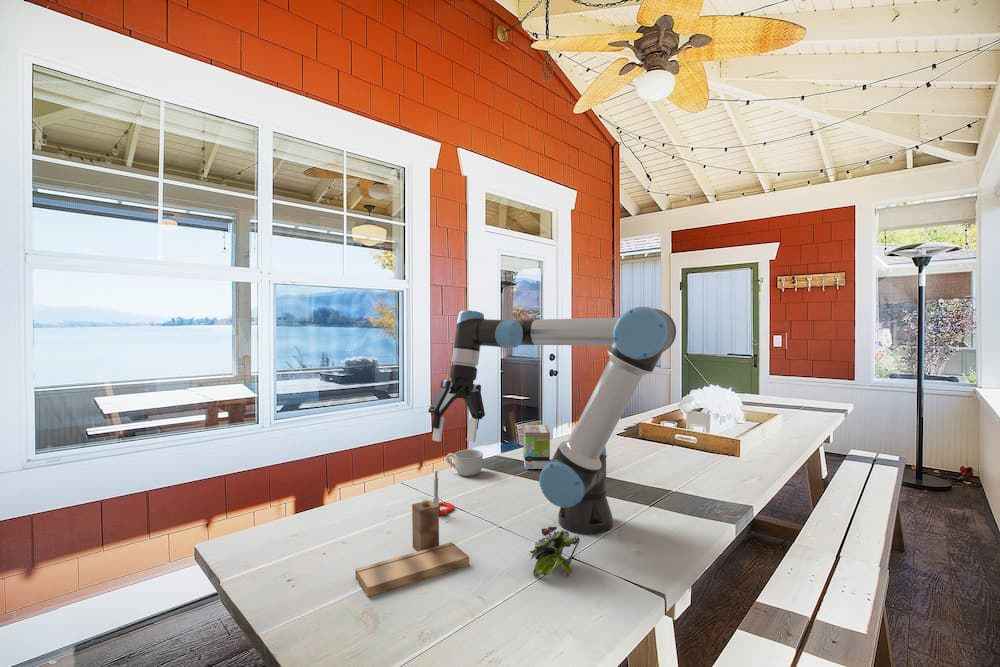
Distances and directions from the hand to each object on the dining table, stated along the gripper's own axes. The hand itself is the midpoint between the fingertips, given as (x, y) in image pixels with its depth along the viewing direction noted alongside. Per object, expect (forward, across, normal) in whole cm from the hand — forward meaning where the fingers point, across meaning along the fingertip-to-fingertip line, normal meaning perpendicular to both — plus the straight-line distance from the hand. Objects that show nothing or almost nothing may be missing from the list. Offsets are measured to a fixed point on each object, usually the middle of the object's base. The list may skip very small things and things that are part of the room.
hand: (454, 441), depth 134 cm
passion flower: (+24, -3, +35) cm, 43 cm away
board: (+28, +18, +10) cm, 35 cm away
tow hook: (+23, -10, -13) cm, 28 cm away
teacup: (+17, -40, -31) cm, 54 cm away
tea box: (+12, -66, -17) cm, 70 cm away
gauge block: (+26, +9, +4) cm, 28 cm away
